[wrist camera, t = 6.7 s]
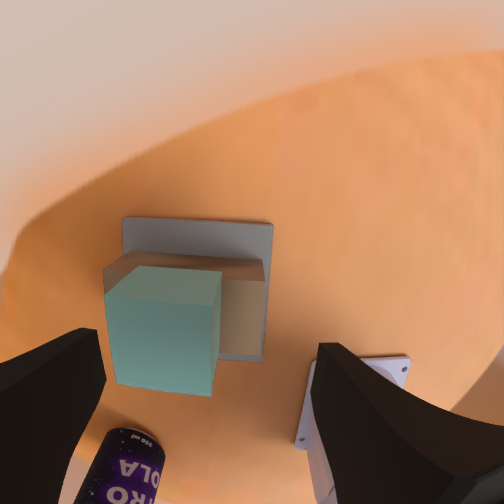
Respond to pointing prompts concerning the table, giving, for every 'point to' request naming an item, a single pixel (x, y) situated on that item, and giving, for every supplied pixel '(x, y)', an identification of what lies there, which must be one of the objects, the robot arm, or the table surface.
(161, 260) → the walnut brick
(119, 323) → the cube
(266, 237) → the plate
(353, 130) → the table surface
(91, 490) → the beverage can
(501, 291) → the table surface
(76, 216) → the table surface
